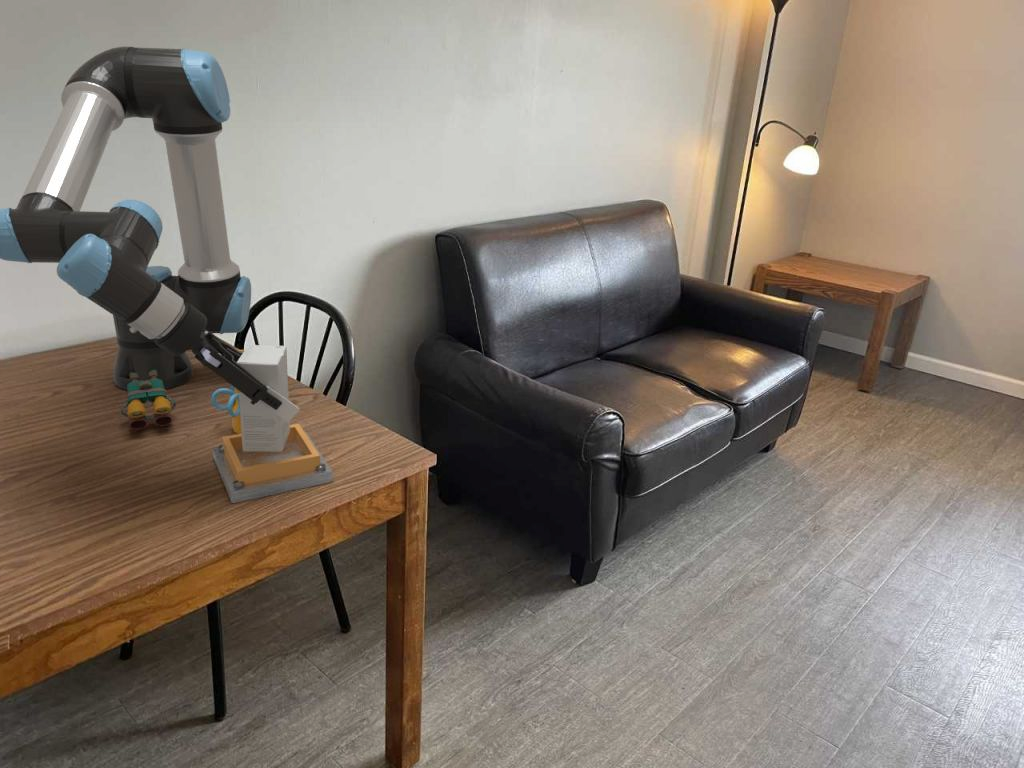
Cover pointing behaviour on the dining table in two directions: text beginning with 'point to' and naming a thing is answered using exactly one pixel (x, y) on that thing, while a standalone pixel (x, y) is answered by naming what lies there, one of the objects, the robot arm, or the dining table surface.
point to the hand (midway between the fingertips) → (285, 402)
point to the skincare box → (257, 420)
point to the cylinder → (230, 405)
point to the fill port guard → (276, 467)
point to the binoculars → (140, 395)
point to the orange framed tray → (272, 486)
